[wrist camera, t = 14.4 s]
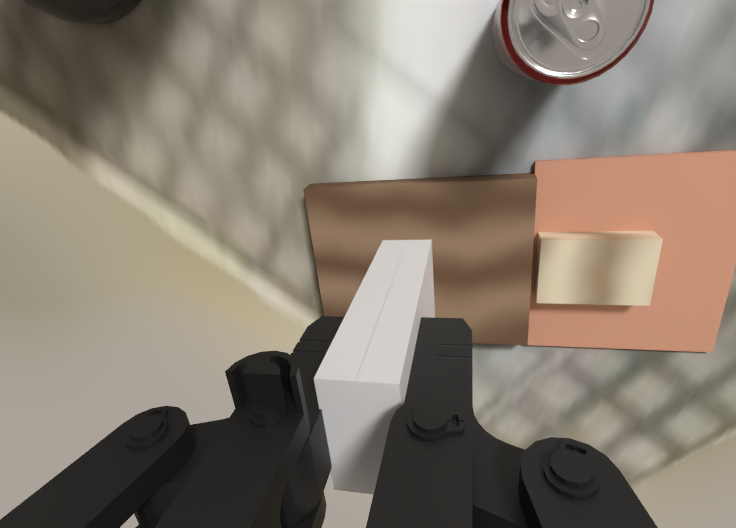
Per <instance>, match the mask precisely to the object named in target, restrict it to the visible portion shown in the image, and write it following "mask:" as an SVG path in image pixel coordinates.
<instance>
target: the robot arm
mask: <svg viewBox="0 0 736 528" xmlns="http://www.w3.org/2000/svg"><path fill="white" fill-rule="evenodd" d="M22 1H24V2H26V3H28V4H30V5H31V6H33V7H35V8H37V9H39V10H41V11H43V12H45V13H47V14H49V15H52V16H54V17H57V18H60V19H64V20H67V21H72V22H81V23H91V24H103V23H109V22H112V21H115V20H118V19H120V18H122V17H123V16H125V15H126V14H128V13H129V12H130V11H131V10H132V9H134V7H135V6H136V5H137V4H138V3H139V2H140V0H22ZM225 373H226V377H227V380H228V384H229V387H230V391H231V394H232V398H233V401H234V404H235V408H236V409H235V410H234V412H233V413H232V415H231V416H230V418H226V419H222V420H217V421H211V422H205V423H200V424H193V425H190V424H189V421H188V418H187V415H186V413H185V412H184V411H183V410H181V409H180V408H178V407H171V406H164V407H157V408H152V409H149V410H147V411H144V412H142V413H140V414H137V415H135V416H134V417H132V418H131V419H130V420H128V421H126V422H125V423H123V424H122V425H120V426H119V427H118V428H117V429H115V430H114V431H113V432H112V433H111V434H109V435H108V436H107V437H105V438H104V439H103V440H101V441H100V442H99V443H98V444H96V445H95V446H94V447H92V448H91V449H90V450H89V451H88V452H86V453H85V454H84V455H82V456H81V457H80V458H79V459H77V460H76V461H75V462H73V463H72V464H71V465H70V466H68V467H67V468H66V469H64V470H63V471H62V472H61V473H59V474H58V475H57V476H55V477H54V478H53V479H52V480H50V481H49V482H48V483H47V484H45V485H44V486H43V487H42V488H40V489H39V490H38V491H36V492H35V493H34V494H33V495H31V496H30V497H29V498H27V499H26V500H25V501H24V502H22V503H21V504H20V505H19V506H17V507H16V508H15V509H13V510H12V511H11V512H10V513H8V514H7V515H6V516H4V517H3V518H2V519H1V520H0V528H120V526H122V524H123V523H124V522H126V521H127V520H128V518H130V517H131V516H132V515H133V514H135V516H136V518H137V521H138V523H139V525H138V526H137V527H136V528H321V527H322V524H323V521H324V518H325V511H326V501H325V496H324V488H325V485H326V482H327V479H328V477H329V473H330V471H331V475H332V480H333V486H334V489H335V490H343V491H351V492H359V493H367V494H374V495H373V500H372V504H371V509H370V513H369V517H368V521H367V526H366V528H657V526H656V525H655V523H654V521H653V520H652V518H651V517H650V516H649V514H648V512H647V511H646V510H645V508H644V506H643V505H642V504H641V502H640V500H639V499H638V497H637V496H636V494H635V493H634V491H633V490H632V488H631V487H630V485H629V484H628V482H627V481H626V479H625V478H624V476H623V475H622V473H621V472H620V470H619V469H618V468H617V467H616V466H615V465H614V464H613V463H612V461H611V460H610V459H609V458H608V457H607V456H606V455H604V454H603V453H601V452H600V451H598V450H596V449H595V448H593V447H592V446H590V445H588V444H585V443H582V442H579V441H576V440H573V439H570V438H553V437H551V438H547V439H543V440H539V441H536V442H534V443H533V444H532V445H531V446H529V447H528V448H527V449H526V450H524V449H521V448H518V447H516V446H513V445H510V444H507V443H505V442H503V441H501V440H499V439H496V438H495V437H493V436H492V435H491V434H489V433H488V432H486V431H485V430H484V429H483V428H482V426H481V425H480V424H479V423H478V421H477V420H476V418H475V416H474V412H473V407H472V330H471V328H470V327H469V326H468V324H467V323H466V322H465V320H464V319H463V318H435V302H434V279H433V255H432V239H431V240H383V241H382V243H381V245H380V247H379V249H378V251H377V253H376V255H375V257H374V259H373V261H372V263H371V265H370V267H369V269H368V271H367V273H366V275H365V277H364V279H363V281H362V283H361V285H360V287H359V289H358V291H357V293H356V295H355V297H354V299H353V301H352V303H351V305H350V307H349V309H348V311H347V313H346V315H345V317H338V316H322V317H320V318H319V319H317V320H316V321H315V322H313V323H312V324H311V325H309V326H308V327H307V329H306V331H305V332H304V334H303V335H302V337H301V338H300V342H298V343H297V345H296V347H295V348H294V350H293V353H291V355H289V354H288V353H284V352H279V351H267V352H259V353H256V354H253V355H249V356H247V357H245V358H243V359H241V360H239V361H238V362H235V363H234V364H233V365H232V366H231V367H230V368H229V369H228V370H226V371H225Z"/></svg>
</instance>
